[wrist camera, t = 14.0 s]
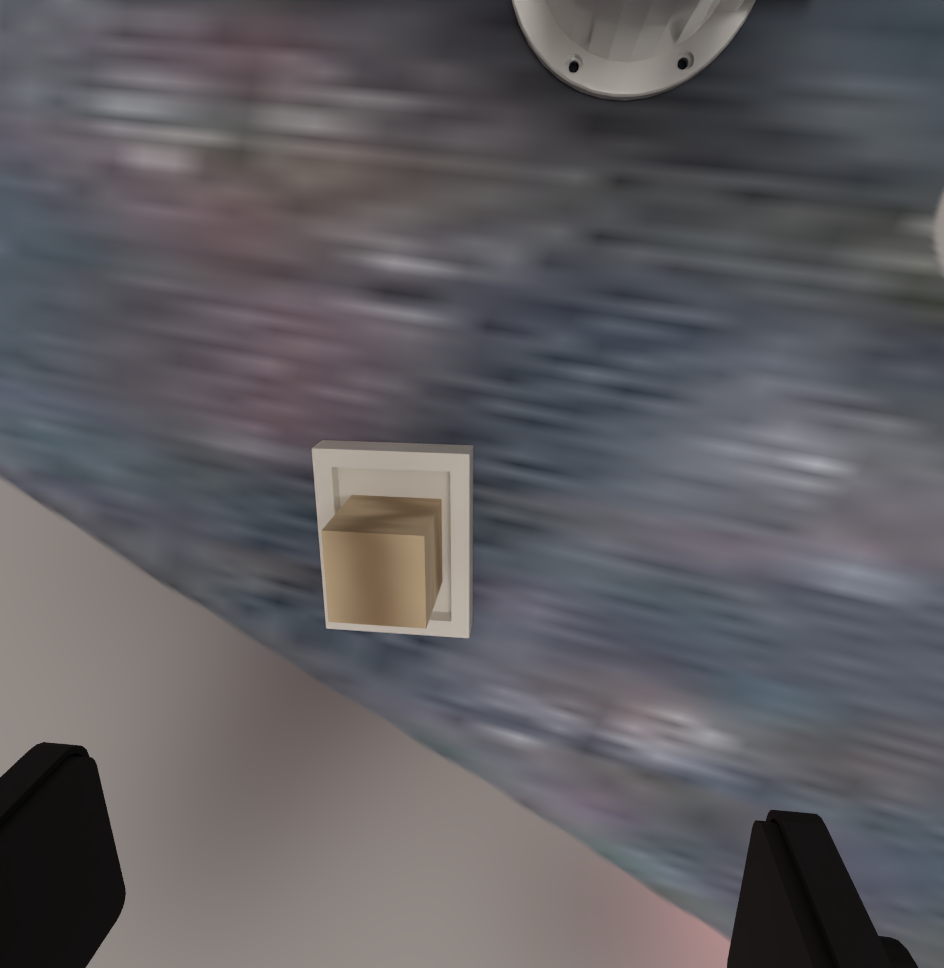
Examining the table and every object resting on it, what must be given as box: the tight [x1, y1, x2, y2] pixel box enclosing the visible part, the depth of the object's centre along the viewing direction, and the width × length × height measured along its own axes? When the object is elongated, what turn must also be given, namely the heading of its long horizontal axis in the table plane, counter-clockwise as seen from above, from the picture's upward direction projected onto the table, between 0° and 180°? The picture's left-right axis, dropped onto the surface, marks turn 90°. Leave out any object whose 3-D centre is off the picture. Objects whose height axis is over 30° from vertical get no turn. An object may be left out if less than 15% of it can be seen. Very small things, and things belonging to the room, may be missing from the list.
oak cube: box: [321, 495, 442, 629], centre depth 41 cm, size 6×6×6 cm
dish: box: [312, 440, 473, 638], centre depth 44 cm, size 10×13×2 cm
